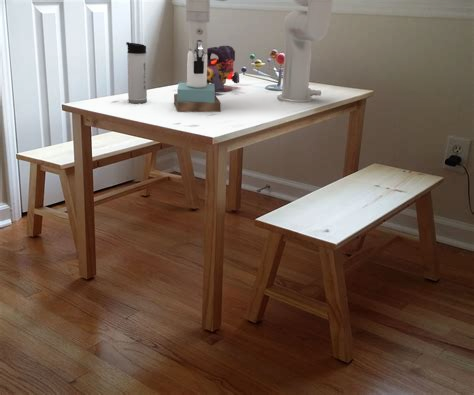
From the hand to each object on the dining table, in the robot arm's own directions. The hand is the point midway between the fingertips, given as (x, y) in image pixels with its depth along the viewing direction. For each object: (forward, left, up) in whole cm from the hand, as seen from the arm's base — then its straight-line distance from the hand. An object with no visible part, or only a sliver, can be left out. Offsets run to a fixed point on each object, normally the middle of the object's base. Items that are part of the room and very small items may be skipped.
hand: (196, 71), depth 207 cm
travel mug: (+19, -10, -13) cm, 25 cm away
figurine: (-12, -31, -13) cm, 36 cm away
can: (0, 0, -5) cm, 5 cm away
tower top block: (0, 0, -9) cm, 9 cm away
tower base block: (0, 0, -13) cm, 13 cm away
